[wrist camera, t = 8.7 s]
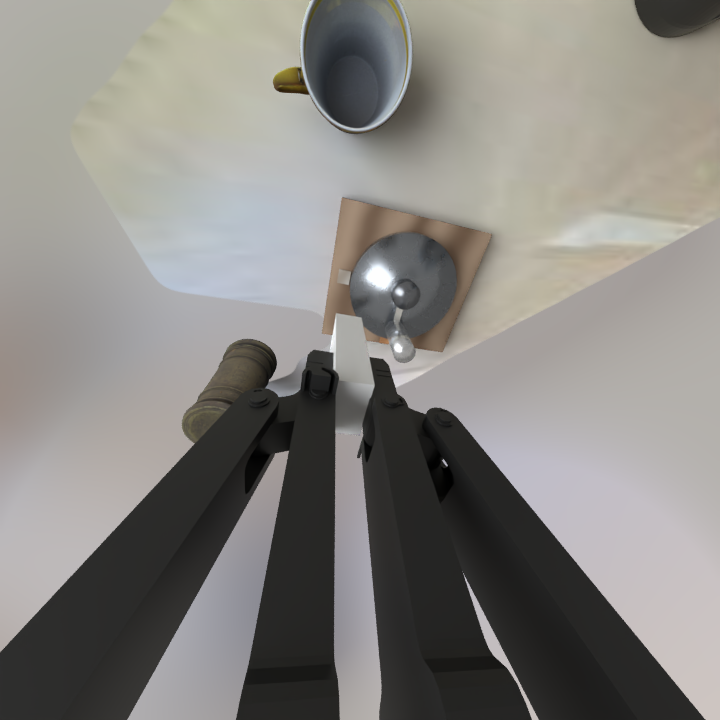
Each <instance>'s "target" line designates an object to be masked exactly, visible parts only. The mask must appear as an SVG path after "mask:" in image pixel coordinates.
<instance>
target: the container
mask: <svg viewBox="0 0 720 720" xmlns="http://www.w3.org/2000/svg"><path fill="white" fill-rule="evenodd" d="M276 366H277V361H276V357H275V354H274V352H273V351H272V350H271V348H270V347H268V346H267V345H266V344H264V343H262V342H260V341H257V340H253V339H242V340H239V341H236V342H234V343H233V344H231V345H230V346H229V347H228V348H227V350H226V352H225V354H224V356H223V361H222V362H221V363H220V365H219V368H218V370H217V372H216V373H215V375H214V376H213V377H212V379H211V381H210V382H209V383H208V385H207V386H206V388H205V389H204V391H203V392H202V393H201V394H200V395H199V397H198V400H197V402H196V403H195V404H194V405H193V406H192V407H190V408H189V409H188V410H187V411H186V413H185V414H184V416H183V420H182V429H183V432H184V433H185V435H186V436H187V437H188V438H189V439H190V440H191V441H192V442H193V443H196V442H197V441H198V440H199V439H200V438H201V437H202V436H203V435H204V434H205V432H206V431H207V430H208V429H209V428H210V427H211V426H212V425H213V424H214V423H215V422H216V421H217V420H218V418H219V417H220V416H221V415H222V414H223V413H224V412H225V411H226V410H227V409H228V408H229V407H230V406H231V405H232V403H233V402H234V401H235V400H236V399H237V398H238V397H239V396H240V395H241V394H242V393H244V392H245V391H248V390H250V389H255V388H264V389H265V387H266V386H267V384H268V382H269V379H270V378H271V377H272V376H273V373H274V372H275V369H276Z"/></svg>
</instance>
